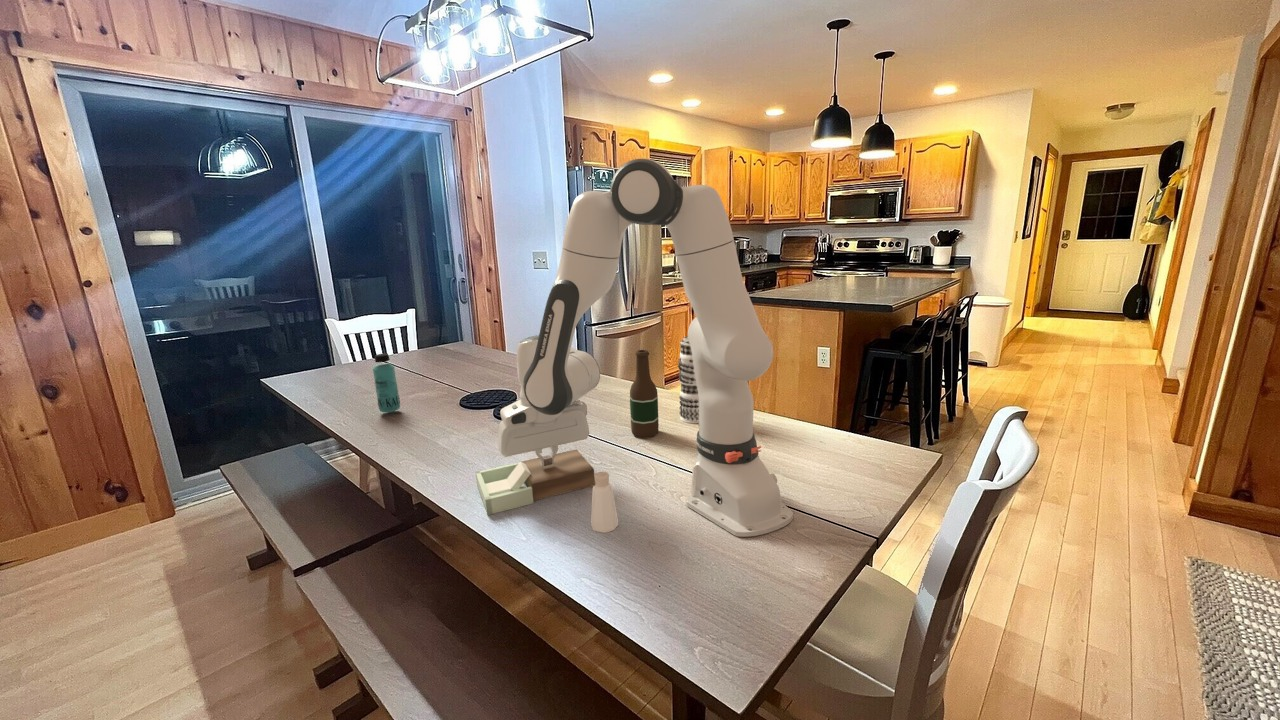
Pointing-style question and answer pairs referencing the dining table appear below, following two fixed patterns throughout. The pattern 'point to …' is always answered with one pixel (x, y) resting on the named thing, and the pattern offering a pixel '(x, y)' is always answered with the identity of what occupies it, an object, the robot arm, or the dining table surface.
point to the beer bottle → (643, 400)
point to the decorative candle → (688, 385)
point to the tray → (505, 499)
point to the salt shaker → (603, 505)
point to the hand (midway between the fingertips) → (547, 464)
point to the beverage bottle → (386, 385)
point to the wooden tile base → (559, 475)
